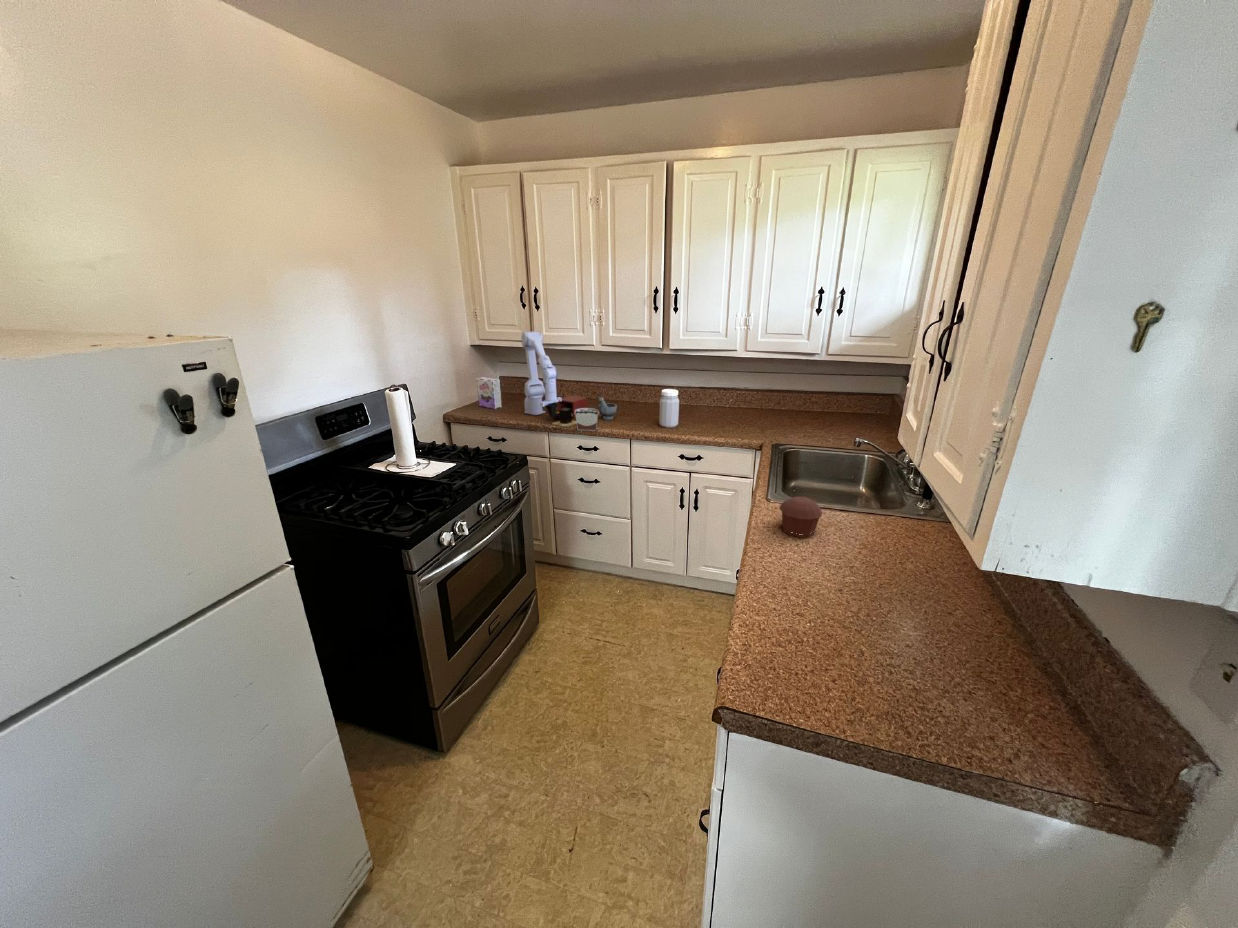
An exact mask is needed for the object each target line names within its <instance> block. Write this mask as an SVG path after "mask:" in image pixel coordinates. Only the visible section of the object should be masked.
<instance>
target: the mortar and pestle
mask: <svg viewBox="0 0 1238 928" xmlns="http://www.w3.org/2000/svg"><path fill="white" fill-rule="evenodd" d="M598 401H599V405H598V411H599V415H601V419H603V420H606V421H607V420H613V419H614V415H616V412H617V409H618V405H617V404H615V403H611V402H608V403H606V401H605V398H604V397H602V396H601V397H599V398H598Z"/></svg>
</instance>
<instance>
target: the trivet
mask: <svg viewBox="0 0 1238 928" xmlns="http://www.w3.org/2000/svg"><path fill="white" fill-rule="evenodd" d="M551 425H554V426H558V427H559V426H560V427H564V428H570V427H572V426H575V425H577V422H576V420H574V419H572V422H571V423H568V424H564V423H560V420H557V421H555V422H552V423H551Z"/></svg>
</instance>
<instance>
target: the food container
mask: <svg viewBox="0 0 1238 928" xmlns="http://www.w3.org/2000/svg"><path fill="white" fill-rule="evenodd" d="M574 414H575V415H576V418H575V421H576V422H577V424H576V428H577V429H576V430H577V431H591V432H592V431H593V432H596V431H597V429H598V418H599V415H600V412H599V409H597V408H594V407H587V408H580V409H576V410H575V412H574Z"/></svg>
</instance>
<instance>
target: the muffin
mask: <svg viewBox="0 0 1238 928" xmlns="http://www.w3.org/2000/svg"><path fill="white" fill-rule="evenodd" d="M779 510H780V511H781V525H782V531H783V532H785V533H786V534H788V535H789V536H791V537H797V538H798V539H799V538H810V537H811V536H813V535H814V534H815V531H816V528H817V526H818V523H819V520H820V518H821V517H822V514H823V511H822V508H821V507H820V506H819V504H817V502H815V501H814V500H812V499H810V498H808V497H805V496H793V497H790V498H788V499H786V500H784V501H782V503H781V504H780V505H779ZM813 531H814V532H813ZM791 532H793V533H791ZM811 532H812V533H811ZM796 533H797V534H796ZM810 533H811V534H810ZM799 534H803V535H799Z"/></svg>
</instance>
